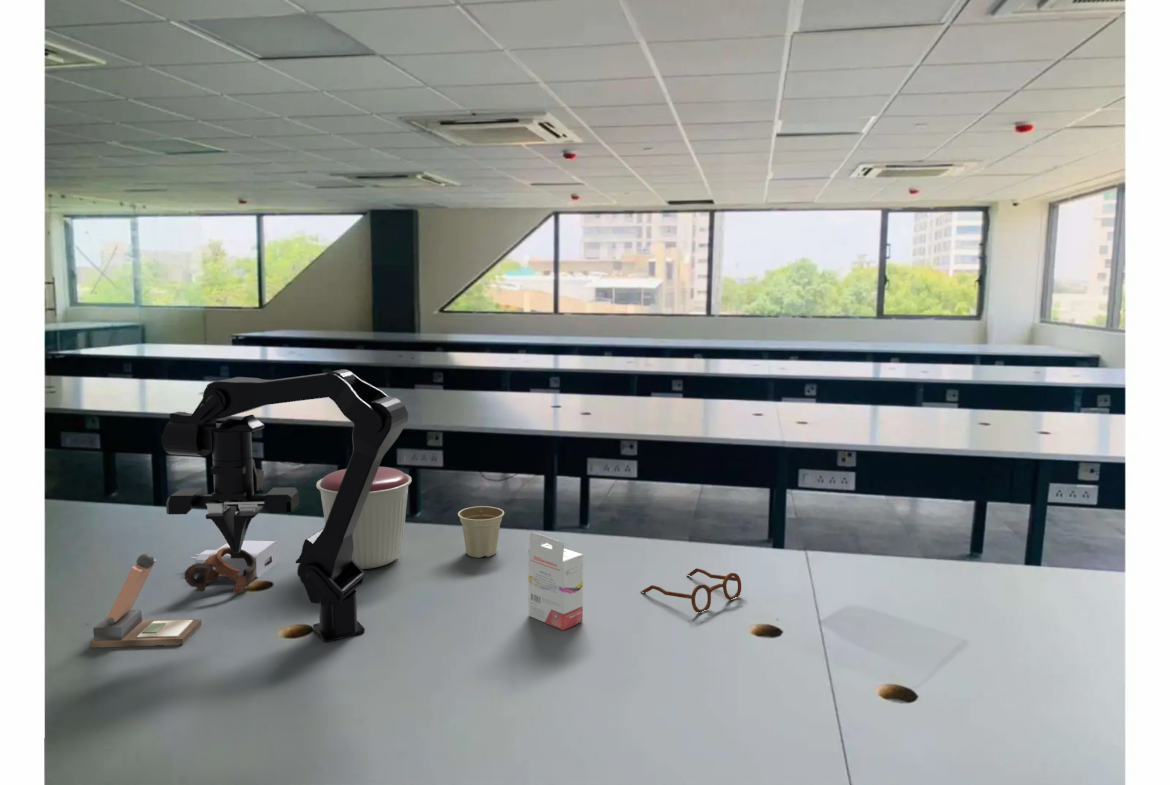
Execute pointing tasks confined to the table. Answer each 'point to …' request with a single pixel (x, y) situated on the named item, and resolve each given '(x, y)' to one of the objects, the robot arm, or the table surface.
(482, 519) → the flower pot
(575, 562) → the ink cartridge box
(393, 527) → the canister
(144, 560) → the toggle lever
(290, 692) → the table surface
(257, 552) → the charger
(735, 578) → the glasses
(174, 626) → the switch unit
